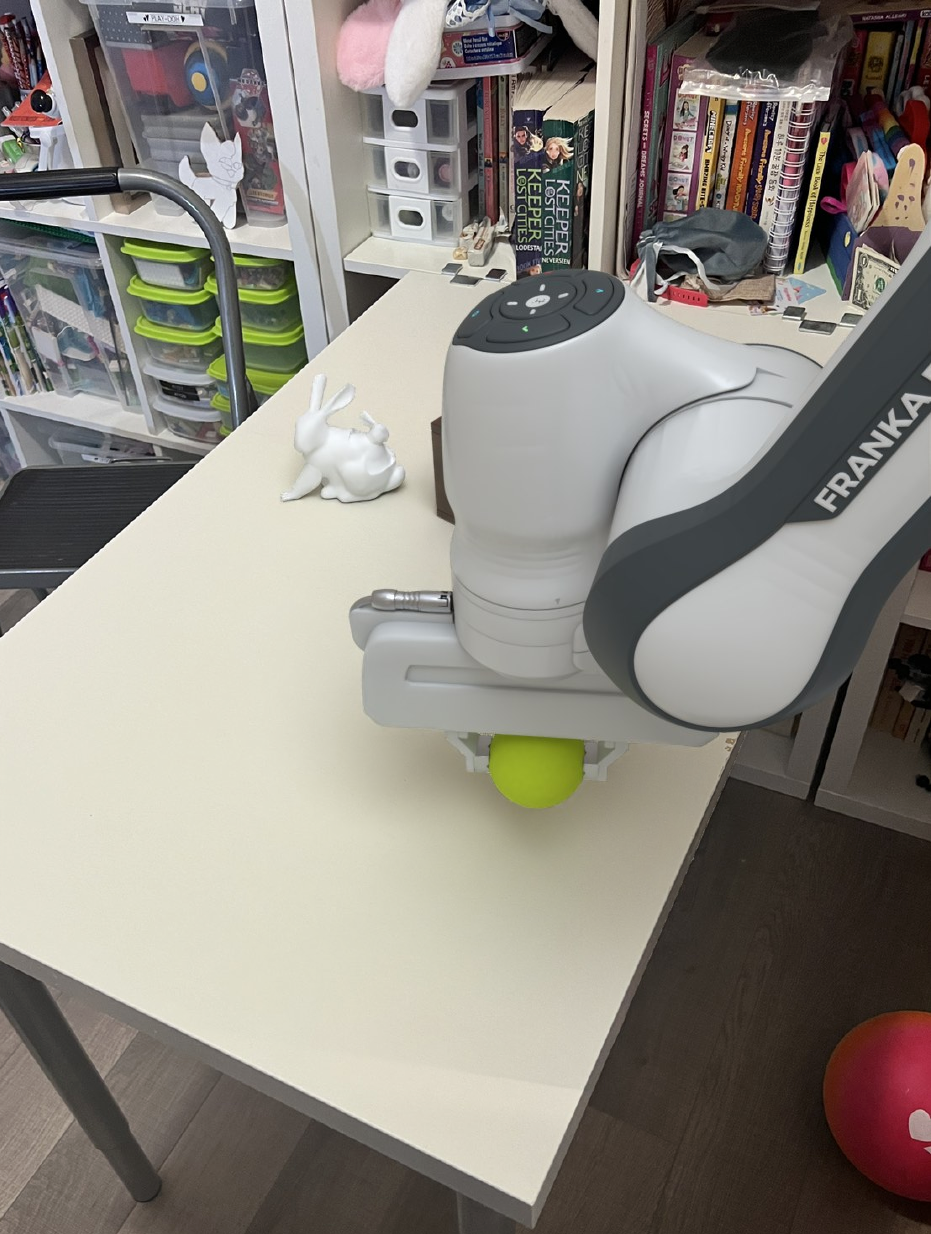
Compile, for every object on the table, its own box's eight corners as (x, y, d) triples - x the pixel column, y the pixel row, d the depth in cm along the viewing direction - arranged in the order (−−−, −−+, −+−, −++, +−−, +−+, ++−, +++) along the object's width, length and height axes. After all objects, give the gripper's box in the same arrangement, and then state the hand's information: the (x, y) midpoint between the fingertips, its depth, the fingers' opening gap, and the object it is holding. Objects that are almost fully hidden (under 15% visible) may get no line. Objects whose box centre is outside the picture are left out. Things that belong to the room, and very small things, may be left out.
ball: (587, 757, 66) (591, 693, 62) (582, 832, 63) (585, 768, 58) (494, 751, 68) (492, 687, 63) (483, 824, 64) (480, 761, 59)
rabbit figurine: (277, 502, 97) (258, 410, 90) (298, 457, 102) (281, 367, 95) (400, 507, 95) (391, 414, 88) (416, 461, 100) (408, 369, 93)
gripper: (331, 628, 53) (363, 795, 63) (742, 648, 49) (707, 822, 59) (355, 553, 58) (382, 720, 68) (737, 565, 54) (705, 741, 64)
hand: (537, 768), depth 63 cm, fingers closed on ball, 6 cm apart
